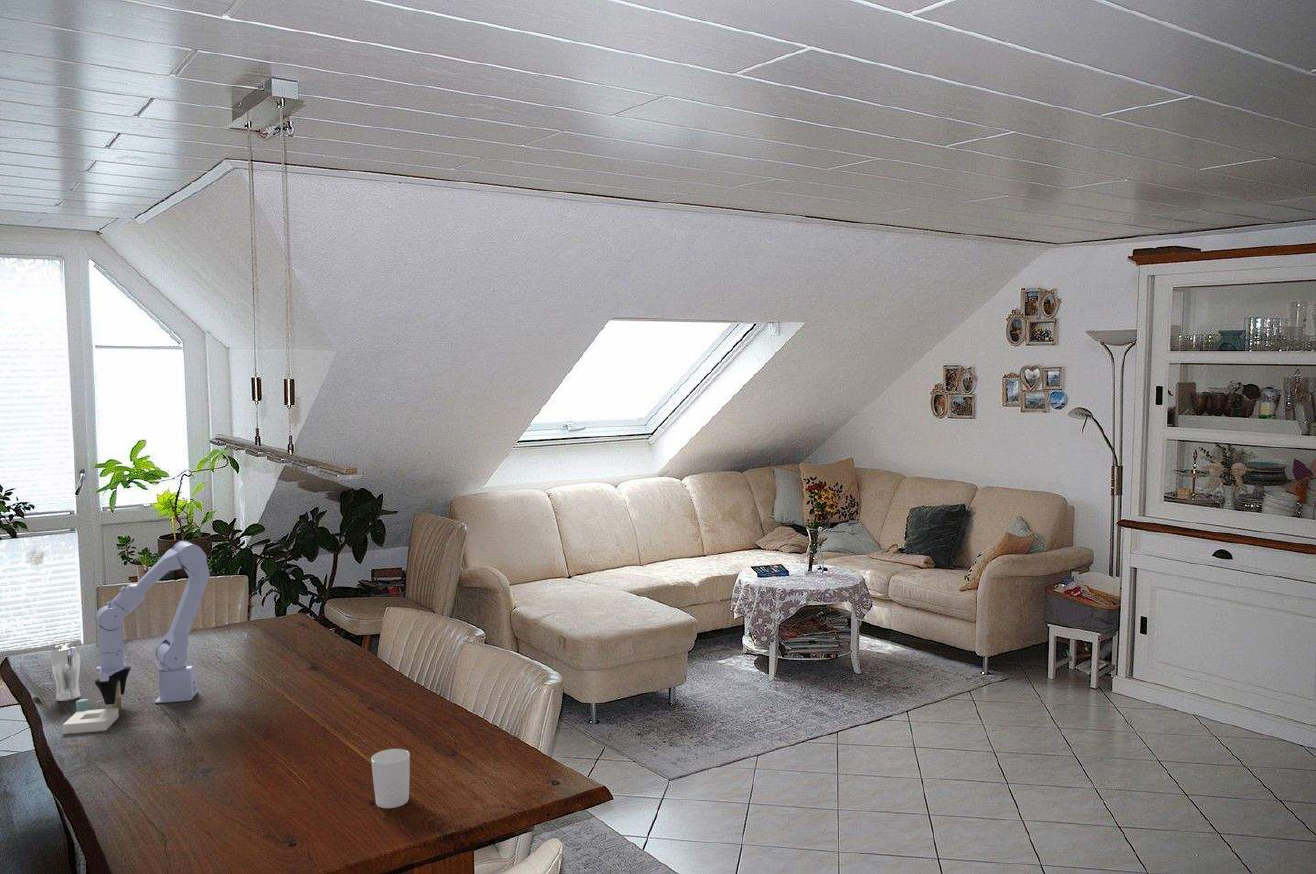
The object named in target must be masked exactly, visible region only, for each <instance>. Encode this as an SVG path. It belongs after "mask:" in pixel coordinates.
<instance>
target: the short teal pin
mask: <svg viewBox="0 0 1316 874" xmlns="http://www.w3.org/2000/svg"><path fill="white" fill-rule="evenodd" d="M75 708H76V709H75V710H76V712H77V711H87V710H91V709H90V700H89V698H81V699H77V700H76V701H75Z"/></svg>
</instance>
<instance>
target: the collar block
mask: <svg viewBox="0 0 1316 874" xmlns="http://www.w3.org/2000/svg"><path fill="white" fill-rule="evenodd" d="M119 717H120V712H118V708H111V709H109V708H102V709H90V710H87V711H77V710H76V712H75V713H74V714H73V715H72V716H71V717H70V718H68V719H67V720H66V721H65V722H64V723H62V732H63V733H62V734H63V735H69V734H70V733H71V734H79V733H80V734H81V733H93V732H104V731H107V730H108V729H109V728H110V727H111V726H112V725H113V724H114V723H115V722H116V721H117V719H119Z"/></svg>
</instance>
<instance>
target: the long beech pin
mask: <svg viewBox="0 0 1316 874" xmlns="http://www.w3.org/2000/svg"><path fill="white" fill-rule="evenodd" d="M122 706H123V705H122V695H121V690H120V681H119V682H118V684H117V688H116V698H115V703H114V704H109V705H108V709H111V708H118V712H119V713H120V712H121V711H123V709H122V708H123V707H122Z"/></svg>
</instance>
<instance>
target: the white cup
mask: <svg viewBox="0 0 1316 874" xmlns="http://www.w3.org/2000/svg"><path fill="white" fill-rule="evenodd" d="M410 754H411V753H410V751H408V750H406V749H404V748H403V749H402V748H388V749H384V750H381V751H378V752H376V753H374V754H373V755H371V758H370V759H371V760H370V761H371V762H370V763H371V771H372V783H373V789H374V797H375V799H374V800H375V804H376V807H379V808H382V809H394V808H399V807H401V806H404V805H405V804H407V803H408V802H409V799H410V774H411V773H410V770H411V767H410V765H411V763H410V762H411V761H410V758H411V757H410V756H411V755H410Z"/></svg>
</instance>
